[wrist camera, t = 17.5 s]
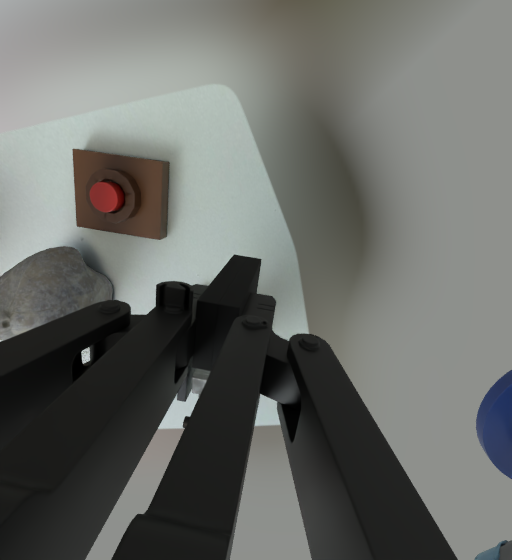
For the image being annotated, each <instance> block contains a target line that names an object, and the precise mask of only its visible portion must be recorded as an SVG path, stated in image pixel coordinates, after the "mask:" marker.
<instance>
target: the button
mask: <svg viewBox="0 0 512 560" xmlns="http://www.w3.org/2000/svg"><path fill="white" fill-rule="evenodd" d="M90 199H91V202H92V204H93V205H94V207H95V208H96V209H98V210H99V211H102V212H111V211H116V210H119V209H120V208H121V207H122V206H123V204H124V201H125V196H124V192H123V190H122V189H121V187H120V186H119V185H117V184H116V183H114V182H98V183H96V184H94V185H93V186H92V188H91V190H90Z"/></svg>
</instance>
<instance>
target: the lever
mask: <svg viewBox="0 0 512 560" xmlns="http://www.w3.org/2000/svg"><path fill="white" fill-rule="evenodd" d="M210 372H211V371H207V370H202V369H197V368H195V370H194V373H193V375H192V393H196V394H199V396H200V394H201V392H202V390H203V388H204V385H205V383H206V381H207V379H208V377H209V374H210ZM189 418H190V417H188V416H186V417H185V419H184V422H183V428H185V427H186V425H187V423H188V421H189Z"/></svg>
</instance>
